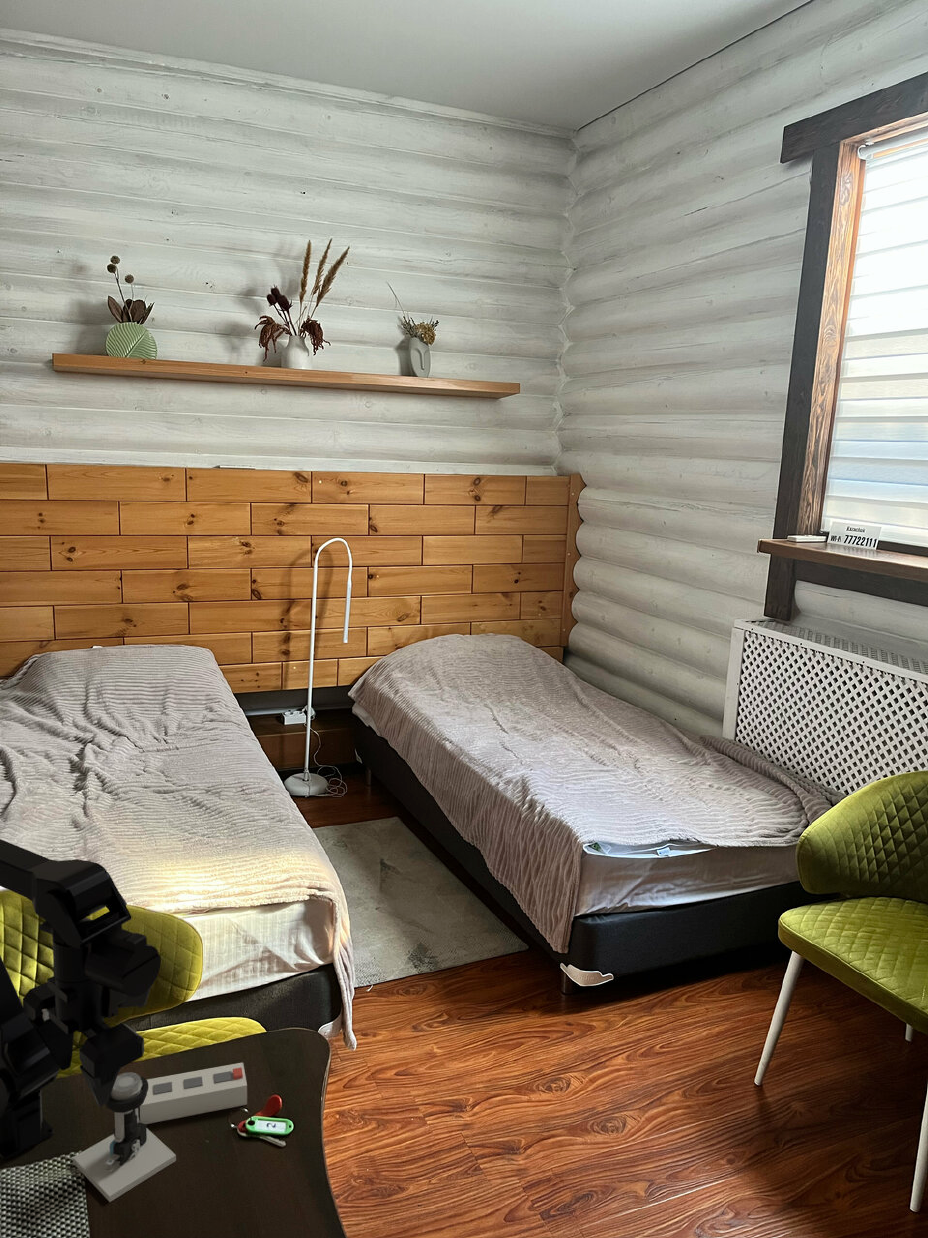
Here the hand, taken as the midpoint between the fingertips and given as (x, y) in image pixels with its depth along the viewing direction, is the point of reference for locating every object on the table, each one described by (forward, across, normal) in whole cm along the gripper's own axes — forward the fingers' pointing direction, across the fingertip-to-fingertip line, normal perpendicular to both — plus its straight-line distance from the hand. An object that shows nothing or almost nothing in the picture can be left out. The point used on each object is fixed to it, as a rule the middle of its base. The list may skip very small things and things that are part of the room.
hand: (84, 1085), depth 112 cm
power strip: (+12, +1, -16) cm, 20 cm away
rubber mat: (+12, -2, -4) cm, 13 cm away
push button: (+11, -2, -4) cm, 12 cm away
